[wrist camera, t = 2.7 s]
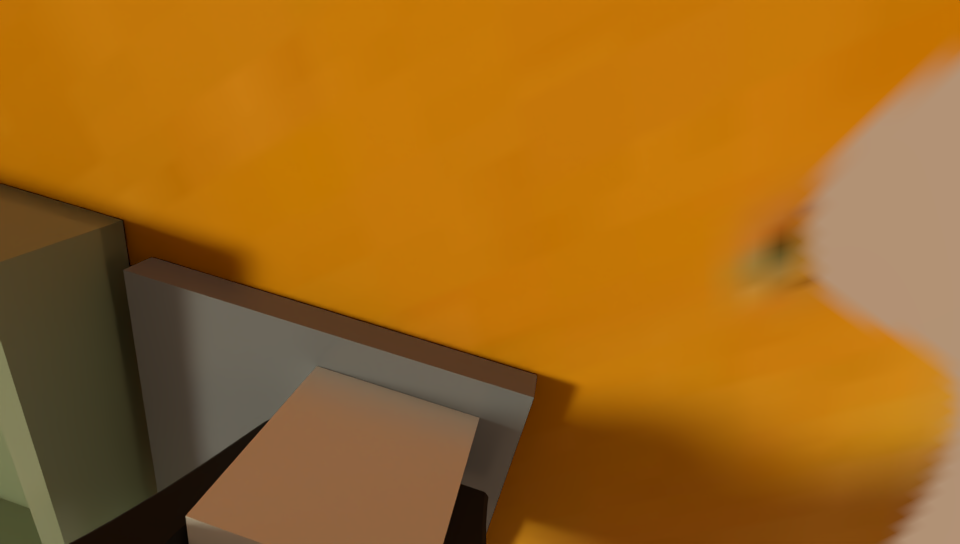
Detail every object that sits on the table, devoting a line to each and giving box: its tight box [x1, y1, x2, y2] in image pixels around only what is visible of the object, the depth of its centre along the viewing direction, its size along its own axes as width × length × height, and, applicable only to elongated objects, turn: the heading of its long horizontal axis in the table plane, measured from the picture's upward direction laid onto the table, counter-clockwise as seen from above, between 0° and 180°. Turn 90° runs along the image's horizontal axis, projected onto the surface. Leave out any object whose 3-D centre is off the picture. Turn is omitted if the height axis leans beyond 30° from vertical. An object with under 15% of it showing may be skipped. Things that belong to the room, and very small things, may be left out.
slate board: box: [123, 257, 537, 532], centre depth 14 cm, size 14×10×1 cm
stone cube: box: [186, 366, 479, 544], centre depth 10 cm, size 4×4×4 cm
